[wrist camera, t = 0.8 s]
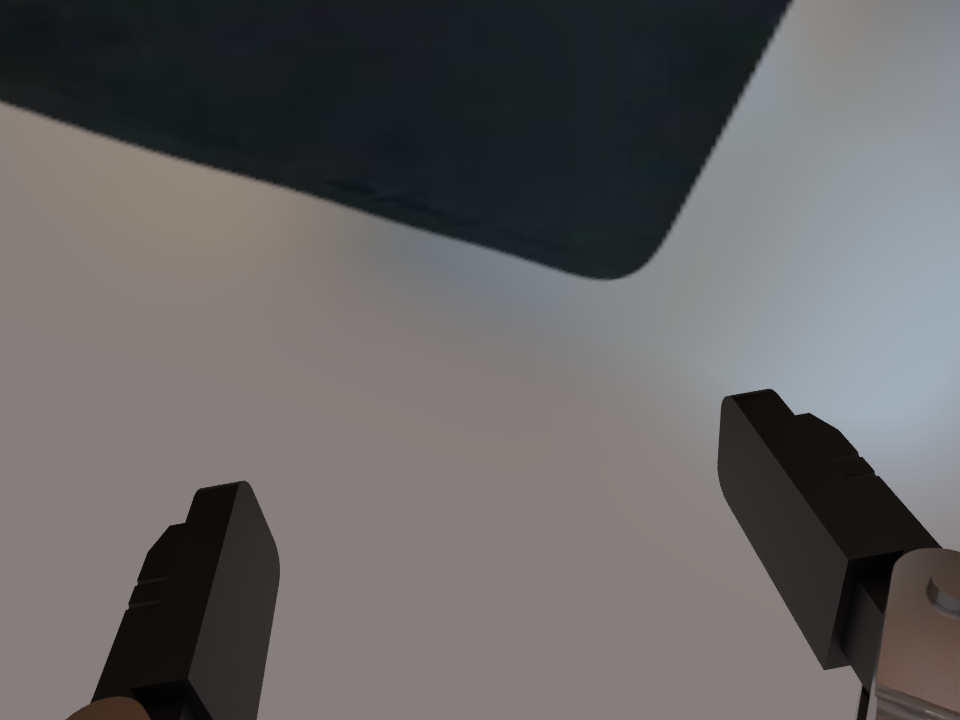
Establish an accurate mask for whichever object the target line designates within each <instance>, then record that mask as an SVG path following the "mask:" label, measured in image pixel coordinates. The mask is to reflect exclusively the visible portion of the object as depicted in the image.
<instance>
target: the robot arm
mask: <svg viewBox="0 0 960 720" xmlns="http://www.w3.org/2000/svg"><path fill="white" fill-rule="evenodd" d="M718 476H719V481H720V486H721V489H722V492H723V495H724V497H725V499H726V501H727V503H728V505H729V506H730V508H731V510H732V512H733V514H734V515H735V517H736V519H737V520H738V522H739V524H740V525H741V527H742V529H743V531H744V532H745V534H746V536H747V538H748V540H749V541H750V543H751V544H752V546H753V548H754V550H755V552H756V553H757V555H758V557H759V559H760V560H761V562H762V564H763V565H764V567H765V569H766V571H767V572H768V574H769V576H770V577H771V579H772V581H773V583H774V585H775V586H776V588H777V590H778V591H779V593H780V595H781V597H782V598H783V600H784V602H785V604H786V605H787V607H788V609H789V611H790V612H791V614H792V616H793V617H794V619H795V621H796V623H797V624H798V626H799V628H800V629H801V631H802V633H803V635H804V636H805V638H806V640H807V642H808V643H809V645H810V647H811V649H812V650H813V652H814V654H815V655H816V657H817V659H818V661H819V662H820V664H821V666H822V668H823V669H824V670H827V669H833V668H838V667H844V666H849V665H851V666H852V668H853V670H854V671H855V673H856V675H857V676H858V678H859V679H860V681H861V683H862V684H861V688H860V691H859V695H858V701H857V707H856V713H855V719H854V720H960V552H958V551H953V550H949V549H943V548H942V547H941V546H940V545H939V544H938V543H937V542H936V541H935V539H934V538H933V537H932V536H931V535H930V534H929V533H928V531H926V529H925V528H924V527H923V526H922V525H921V523H920V522H919V521H918V520H917V519H916V518H915V517H914V515H913V514H912V513H911V512H910V511H909V510H908V509H907V507H906V506H905V505H904V504H903V503H902V502H901V501H900V499H899V498H898V497H897V496H896V495H895V494H894V493H893V491H892V490H891V489H890V488H889V487H888V486H887V485H886V483H885V482H884V481H883V480H882V479H881V478H880V477H879V476H876V475H875V471H874V470H873V469H872V467H871V466H870V465H869V464H868V463H867V462H866V461H865V459H864V458H863V457H859V455H858V452H857V451H856V449H855V448H854V447H853V446H852V445H851V444H850V443H849V441H848V440H847V439H846V438H845V437H844V436H843V435H842V433H841V432H840V431H839V430H838V429H836V428H834V427H832V426H831V425H829V424H827V423H826V422H824V421H822V420H821V419H819V418H817V417H816V416H814V415H812V414H810V413H806V414H801V415H794V414H793V412H792V411H791V410H790V409H789V407H788V406H787V405H786V404H785V403H784V401H783V400H782V399H781V398H780V396H779V395H778V394H777V393H776V392H775V391H773V390H772V389H765V390H759V391H753V392H748V393H742V394H736V395H731V396H726V397H725V398H724V399H723V401H722V405H721V419H720V433H719V448H718ZM279 578H280V564H279V556H278V552H277V547H276V544H275V541H274V539H273V536H272V534H271V532H270V529H269V527H268V525H267V522H266V520H265V518H264V515H263V513H262V511H261V508H260V506H259V504H258V501H257V499H256V497H255V494H254V492H253V490H252V488H251V486H250V484H249V483H248V482H246V481H239V482H234V483H228V484H222V485H217V486H211V487H206V488H201V489H199V490H198V491H197V492H196V494H195V496H194V498H193V501H192V504H191V507H190V510H189V513H188V516H187V519H186V522H185V523H182V524H176V525H171V526H169V527H168V528H167V530H166V531H165V532H164V533H163V534H162V536H161V537H160V538H159V539H158V541H157V542H156V543H155V544H154V545H153V547H152V548H151V549H150V550H149V551H148V553H147V556H146V558H145V561H144V564H143V566H142V569H141V572H140V574H139V577H138V579H137V581H138V585H137V586H135V587H134V590H133V593H132V595H131V598H130V601H129V603H128V604H129V609H128V610H126V611H125V614H124V617H123V619H122V622H121V624H120V627H119V630H118V632H117V635H116V638H115V640H114V643H113V645H112V648H111V651H110V653H109V656H108V659H107V661H106V664H105V667H104V669H103V672H102V674H101V677H100V680H99V682H98V685H97V688H96V691H95V693H94V696H93V698H92V700H91V703H90V704H89V705H87V706H85V707H83V708H81V709H80V710H78V711H76V712H75V713H73V714H72V715H71V716H70V717H68V718H67V719H66V720H256V719H257V713H258V707H259V701H260V695H261V689H262V683H263V677H264V670H265V664H266V659H267V652H268V646H269V640H270V634H271V628H272V622H273V616H274V610H275V604H276V598H277V592H278V586H279Z"/></svg>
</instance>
